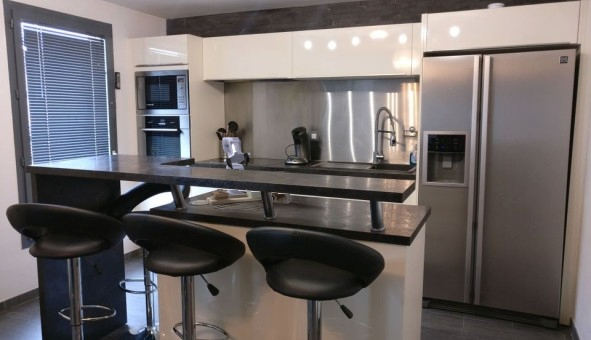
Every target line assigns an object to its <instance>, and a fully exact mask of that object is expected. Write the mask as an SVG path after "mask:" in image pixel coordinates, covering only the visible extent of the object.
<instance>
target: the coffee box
mask: <svg viewBox="0 0 591 340" xmlns="http://www.w3.org/2000/svg"><path fill="white" fill-rule="evenodd" d="M273 172H280V173H291V174H292V172H291V171H283V170H281V171H280V170H275V171H273ZM271 194H272V195H271V197H273V201H274V203H273V204H286V205H287V204H290V203H291V200H292V199H291V197H292V194H291V195H290V194H278V193H272V192H271Z"/></svg>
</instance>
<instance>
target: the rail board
mask: <svg viewBox="0 0 591 340" xmlns="http://www.w3.org/2000/svg"><path fill="white" fill-rule="evenodd" d="M206 201H207V202H208V203H209V204H210V205H220V204H230V203H231V204H232V203H234V204H235V203H243V202H254V201H262V200H261V197H254V198H251V197H249V196H248V194H247V192H246V193H245V192H244V194H232V195H231V194H228V198H227V199H216V200H215V199H214V196H213V195H212V196H211V195H210V196H209V197H206Z"/></svg>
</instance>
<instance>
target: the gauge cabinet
mask: <svg viewBox="0 0 591 340" xmlns="http://www.w3.org/2000/svg"><path fill="white" fill-rule="evenodd" d="M246 193H247V194H248V196H249V197H251V198H254V197H261V194H260V192H251V191H247V190H246Z"/></svg>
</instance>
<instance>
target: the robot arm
mask: <svg viewBox="0 0 591 340" xmlns="http://www.w3.org/2000/svg"><path fill="white" fill-rule="evenodd" d="M222 148H223V151H224V152H225V153H226V154H227V158H225V159H224V160H223V162H224V165H226V169H239V170H244V171H245V167H248V165H249V163H250V161H251V159H250V158H252V156H251V155H252V154H251V152H242V141H241V139H240V138H239V137H238V136H237V137H234V136H233V137H232V136H231V137H230V136H228V137H222ZM243 161H244V163H245V167H244V166H243V164H241V163H242V162H243ZM226 169H225V170H226ZM225 191H226V192H228V195H233V194H245V192H244V191H238V190H228V189H227V190H225Z"/></svg>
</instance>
